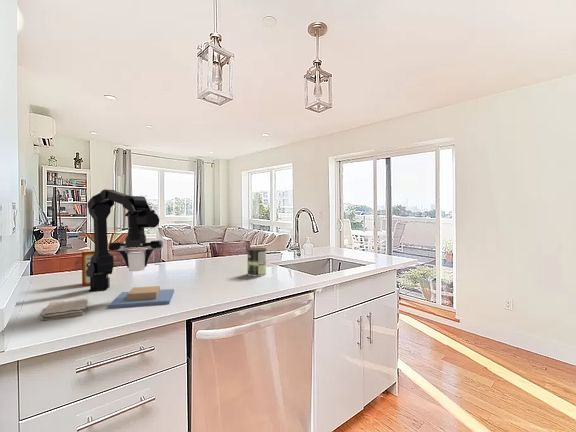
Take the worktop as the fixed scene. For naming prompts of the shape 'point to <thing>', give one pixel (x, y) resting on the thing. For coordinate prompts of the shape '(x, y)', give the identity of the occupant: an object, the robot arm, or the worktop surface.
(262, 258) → the coffee can
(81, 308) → the washcloth
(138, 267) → the white cup
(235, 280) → the worktop surface
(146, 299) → the board
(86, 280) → the baking soda box
